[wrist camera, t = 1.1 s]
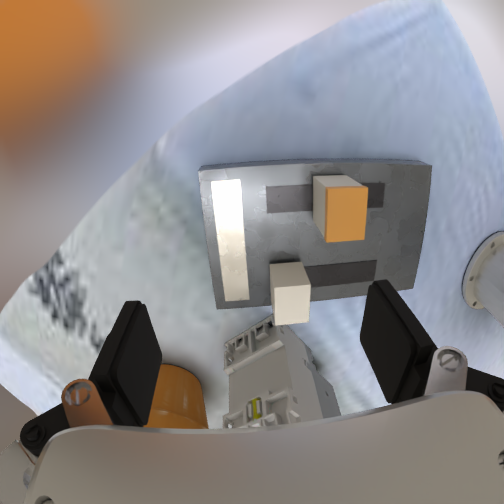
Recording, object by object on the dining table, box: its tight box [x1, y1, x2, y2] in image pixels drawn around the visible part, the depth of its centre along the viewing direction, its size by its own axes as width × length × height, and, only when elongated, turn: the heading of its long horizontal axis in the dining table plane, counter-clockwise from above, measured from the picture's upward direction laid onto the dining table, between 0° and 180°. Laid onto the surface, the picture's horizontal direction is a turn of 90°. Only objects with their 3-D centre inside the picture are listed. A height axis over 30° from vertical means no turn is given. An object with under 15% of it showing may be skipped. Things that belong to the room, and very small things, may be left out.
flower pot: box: [143, 364, 209, 429], centre depth 33 cm, size 14×14×13 cm
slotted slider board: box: [198, 159, 432, 309], centre depth 28 cm, size 22×14×3 cm, turn 94°
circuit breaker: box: [223, 314, 341, 429], centre depth 31 cm, size 8×14×15 cm, turn 38°
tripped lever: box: [313, 175, 368, 243], centre depth 23 cm, size 3×4×5 cm
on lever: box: [270, 262, 311, 326], centre depth 27 cm, size 3×4×4 cm
